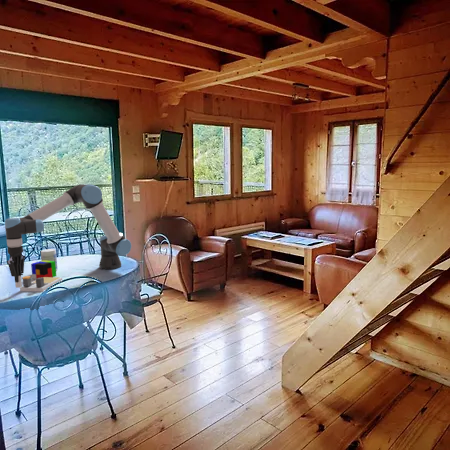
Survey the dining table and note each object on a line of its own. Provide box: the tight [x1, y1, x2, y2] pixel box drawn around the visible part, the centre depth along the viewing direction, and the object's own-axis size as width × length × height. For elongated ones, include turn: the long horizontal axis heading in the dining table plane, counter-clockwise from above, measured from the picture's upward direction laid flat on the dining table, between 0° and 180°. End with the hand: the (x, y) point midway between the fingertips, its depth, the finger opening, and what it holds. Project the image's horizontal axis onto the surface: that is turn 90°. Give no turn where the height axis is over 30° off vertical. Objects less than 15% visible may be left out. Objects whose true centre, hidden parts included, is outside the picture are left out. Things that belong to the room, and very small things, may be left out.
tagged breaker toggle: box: [21, 275, 32, 287], centre depth 224 cm, size 3×3×5 cm
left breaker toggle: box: [35, 278, 44, 287], centre depth 223 cm, size 3×3×4 cm
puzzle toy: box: [30, 260, 57, 280], centre depth 249 cm, size 10×10×10 cm
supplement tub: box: [40, 248, 58, 272], centre depth 264 cm, size 10×10×15 cm
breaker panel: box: [19, 276, 63, 292], centre depth 232 cm, size 14×21×2 cm, turn 174°
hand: (18, 287), depth 216 cm, fingers closed
